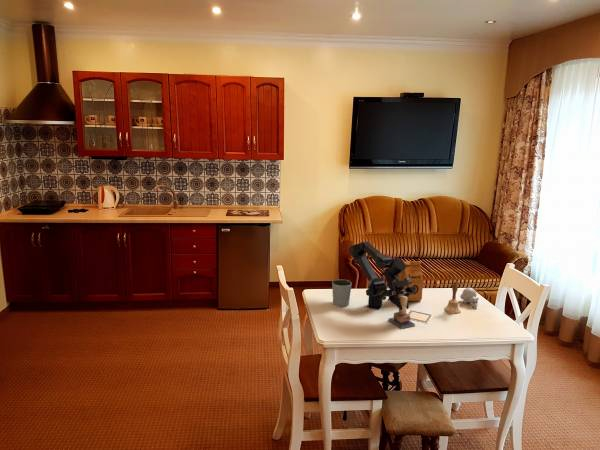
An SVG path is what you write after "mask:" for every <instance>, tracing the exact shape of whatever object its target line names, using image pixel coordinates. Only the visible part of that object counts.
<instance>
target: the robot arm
mask: <svg viewBox="0 0 600 450" xmlns="http://www.w3.org/2000/svg"><path fill="white" fill-rule="evenodd" d="M348 253H349V254H350V256H351V257H352V258H353V259H354V260H356V261H357V263H358V264H359V266H360V267H361V270H362V271H363V273H364V276H365V277H366V279H367V281H368V288H367V289H366V290H365V295H366V297H368V302H367V306H366V307H367V308H369V309H374V310H375V309H376V310H380V309H381V308H382V306H383V300H386V299H387V297H388V299H387V301H389V302H391V303H392V304H393V305H394V306H395V307H397V309H398V310H399V309H400V310H402V306H401V304H400V298H398V295H399V294H401V296H406V297H408V296H410V295H412V294H413V293H414V292H415V291H417V290H416V288H415V287H414V286H409V284H411V280H410V278H404V280H401V279H399V274H400V273H401V272H402V271H403V270H404V269H405V268H406V265H405V263H404V262H405V261H402V260H401V259H400V258H399V257H395V258H394V259H393V258H392V257H391V256H389V255H387V254H384V253H382V252H380V251H379V250H378V249H377V248H376V247H375V246H373V245H372V244H371V242H370V241H361V242H359V243H357V244H351V245H350V246H349V247H348ZM367 255H368V256H369V257H370V258H371V259H372V260H374V264H375V266H376V267H377V268H378V269H380V270H381V269H383V270H382V271H381V274H380V276H381V277H378V276H377V273H375V271H374V269H373V267H372V265H371V263H370V262H369V260H368V258H367ZM383 277H384V278H383ZM385 281H386V282H385ZM386 283H387V284H386ZM405 286H409V287H407V288H406V289H404V288H405ZM403 289H404V290H403ZM409 307H410V305H409V301H408V299H407V308H406V310H408V309H409Z"/></svg>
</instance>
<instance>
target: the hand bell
mask: <svg viewBox="0 0 600 450" xmlns="http://www.w3.org/2000/svg"><path fill="white" fill-rule="evenodd" d="M458 287H459V286H458V281H453V284H452V287H451V290H452V296H451V298H450V299H449V300H448V303H447V304H446V306H445V307H444V309H443V310H444V311H445V312H447V313H449V314H452V315H453V314H454V315H456V314H457V315H458V314H460V313H461V312H462V310H461V309H460V308H459V301H458V300H457V299H456V298H457V297H456V295H457V292H458Z"/></svg>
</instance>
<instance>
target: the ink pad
mask: <svg viewBox="0 0 600 450" xmlns="http://www.w3.org/2000/svg"><path fill="white" fill-rule="evenodd" d="M387 321H389V322H390V323H391V324H393V325H395V326H397V327H398V328H400V329H407V328H411V327H415V326H416V323H414V322H412V321H411V320H410V321H409V322H405V323H399V322H398V321H396V320H395V319H394V317H390V318H388V319H387Z"/></svg>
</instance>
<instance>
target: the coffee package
mask: <svg viewBox="0 0 600 450" xmlns="http://www.w3.org/2000/svg"><path fill="white" fill-rule="evenodd" d="M403 262H404V263H405V265H406V268H405V269H404V270H403V271H402V272H401V273H400V274H399V275H398V279H401V280H404V278H410V280H411V284H409V286H414V287H415V288H416V290H417V291H415V292H414V293H413V294H412V295H410V296H408V302H421V301H422V299H423V288H424V287H423V286H424V278H423V277H424V276H423V272H422V267H421V266H422V261H421V260H420V261H418V260H417V261H403ZM409 286H405V288H404V289H406V288H407V287H409ZM404 289H403V290H404ZM400 296H401V294H399V295H398V299H400Z"/></svg>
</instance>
